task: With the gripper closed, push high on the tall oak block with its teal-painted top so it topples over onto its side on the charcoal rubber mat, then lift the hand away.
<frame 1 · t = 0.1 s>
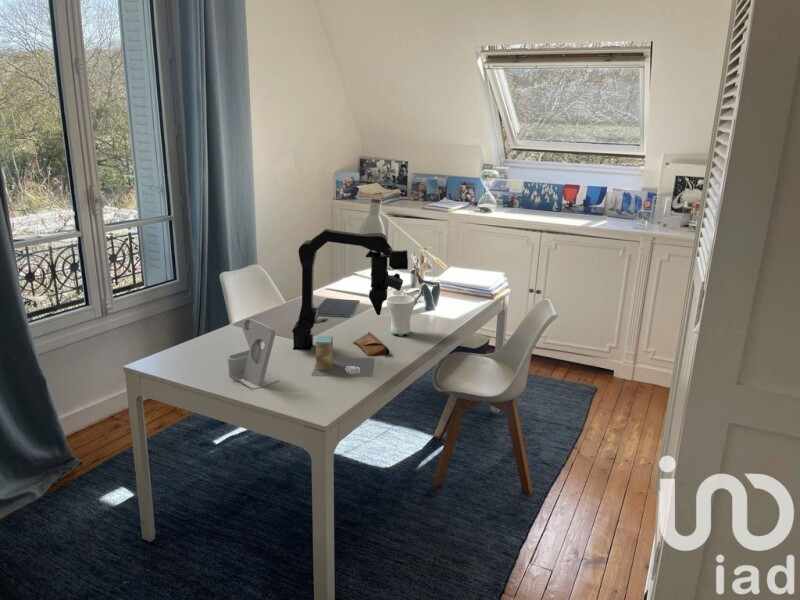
hand: (379, 310, 219), 15 cm above the table, tool pointing down, fingers open, 9 cm apart
phone holder: (253, 378, 198), on the table
oak block: (325, 366, 206), resting on rubber mat
sunglasses case: (370, 350, 224), on the table
cup: (400, 334, 239), on the table
rubber mat: (344, 367, 206), on the table
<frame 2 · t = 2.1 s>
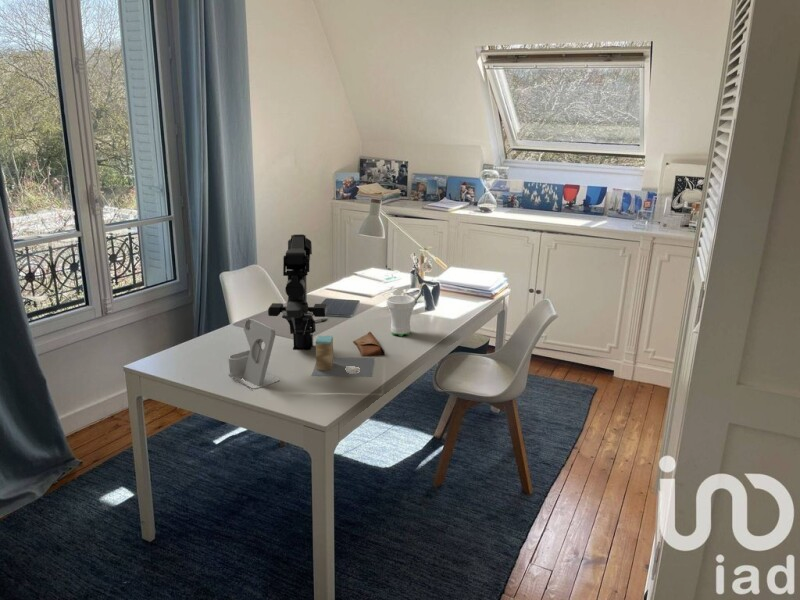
hand: (298, 334, 203), 12 cm above the table, tool pointing down, fingers open, 3 cm apart
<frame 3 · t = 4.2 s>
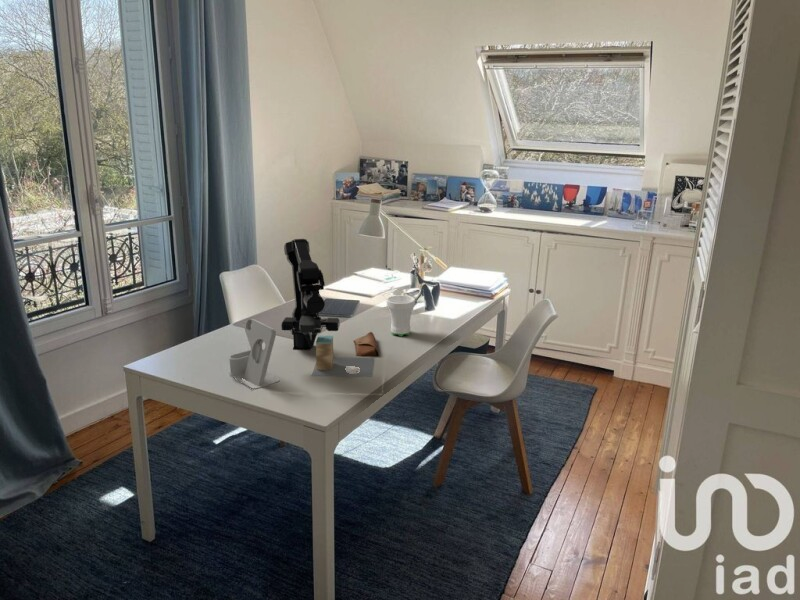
hand: (311, 347, 204), 7 cm above the table, tool pointing down, fingers closed
oak block: (325, 366, 206), resting on rubber mat, touching gripper
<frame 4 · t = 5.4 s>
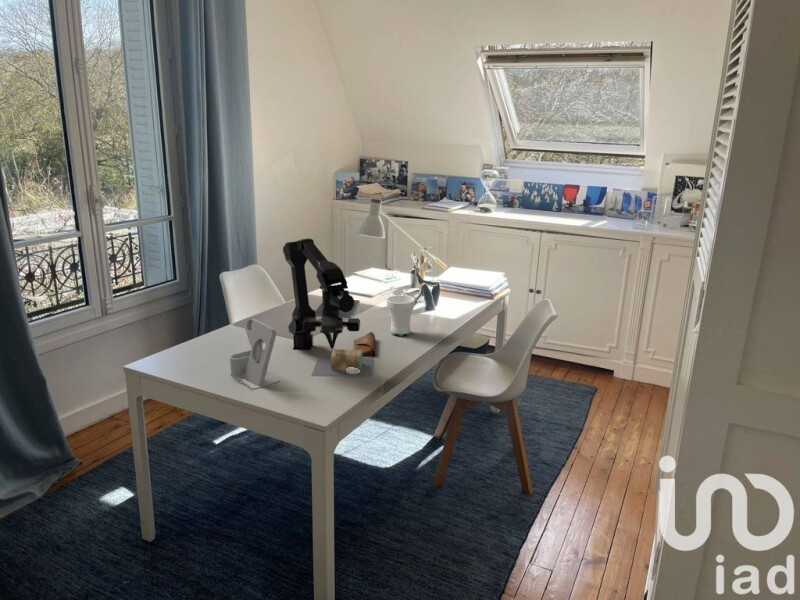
hand: (332, 348, 204), 7 cm above the table, tool pointing down, fingers closed
oak block: (332, 359, 206), point 3 cm above the table, tilted 90°, touching rubber mat
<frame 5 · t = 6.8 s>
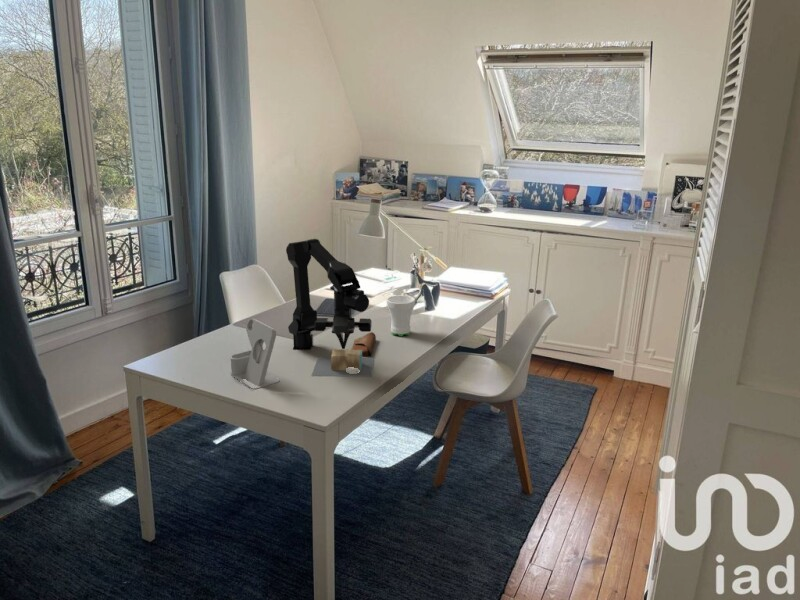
hand: (343, 348, 204), 7 cm above the table, tool pointing down, fingers closed
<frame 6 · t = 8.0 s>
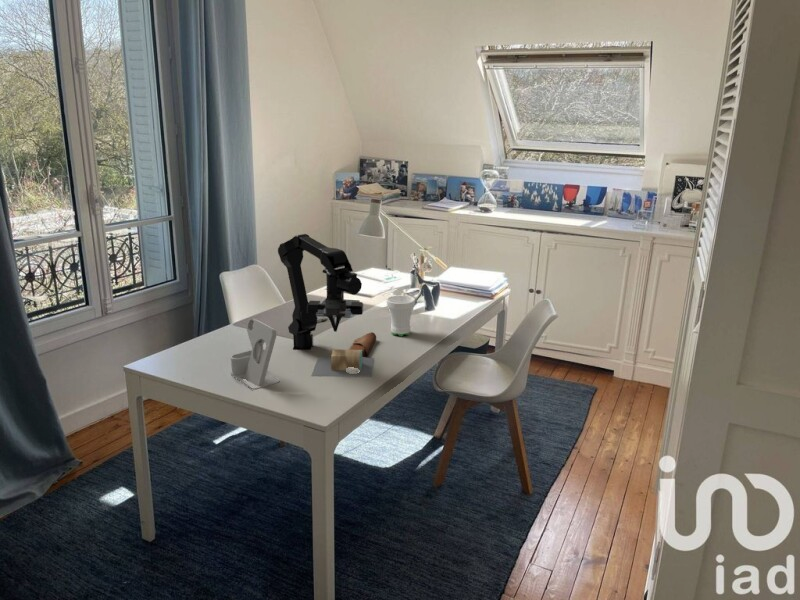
hand: (335, 331, 207), 12 cm above the table, tool pointing down, fingers closed
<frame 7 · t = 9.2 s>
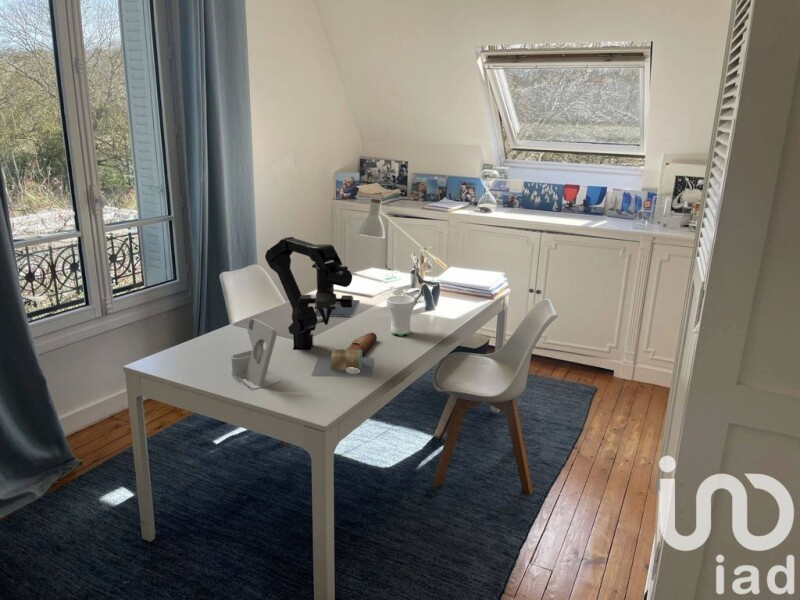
hand: (326, 324, 212), 12 cm above the table, tool pointing down, fingers closed
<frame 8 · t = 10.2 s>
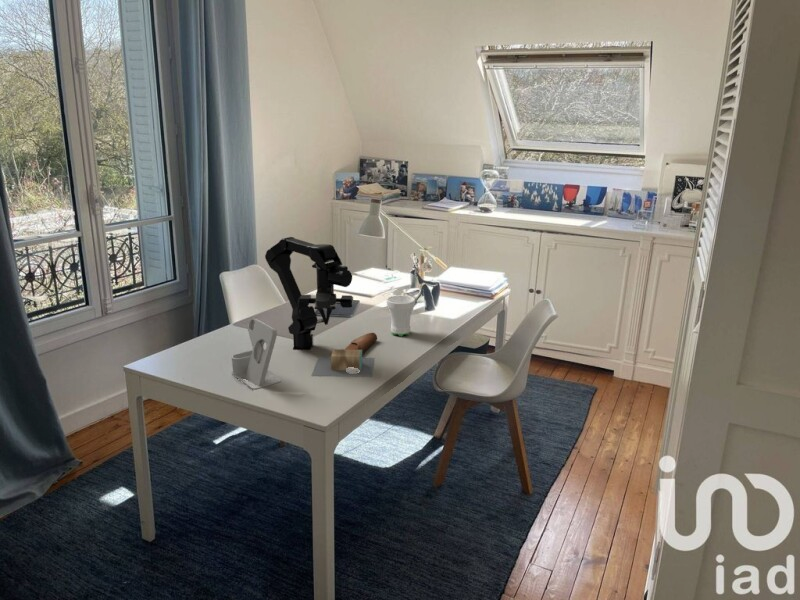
hand: (326, 324, 212), 12 cm above the table, tool pointing down, fingers closed
at the end: oak block tilted 90°; oak block inside the target area on the rubber mat (3.5 cm from its centre), point 2.9 cm above the rubber mat's base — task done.
